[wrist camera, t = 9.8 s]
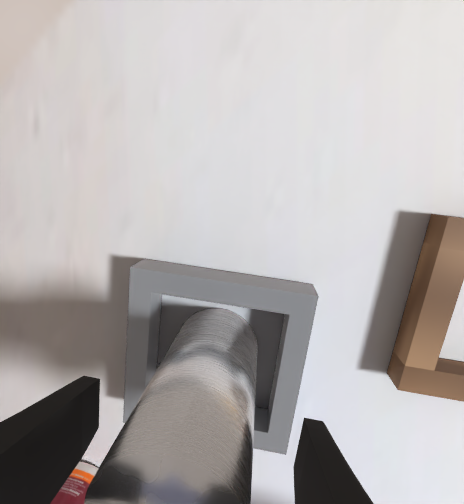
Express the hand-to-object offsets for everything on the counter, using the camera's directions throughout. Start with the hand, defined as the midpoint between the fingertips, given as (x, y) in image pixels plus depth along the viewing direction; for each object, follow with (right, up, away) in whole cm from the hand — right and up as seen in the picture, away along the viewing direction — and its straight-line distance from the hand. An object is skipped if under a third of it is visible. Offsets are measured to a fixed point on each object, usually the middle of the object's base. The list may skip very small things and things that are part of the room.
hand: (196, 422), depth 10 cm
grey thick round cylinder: (+1, +1, +5) cm, 5 cm away
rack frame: (+1, +1, +5) cm, 5 cm away
